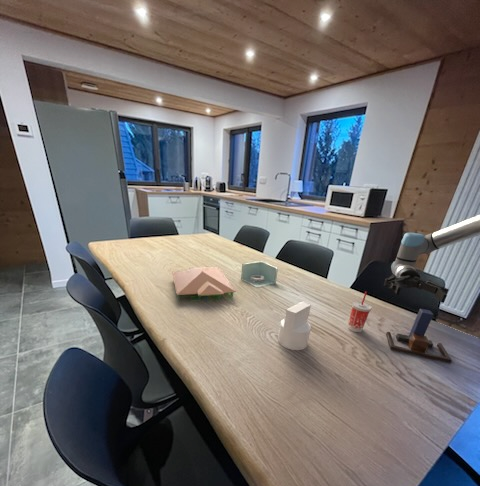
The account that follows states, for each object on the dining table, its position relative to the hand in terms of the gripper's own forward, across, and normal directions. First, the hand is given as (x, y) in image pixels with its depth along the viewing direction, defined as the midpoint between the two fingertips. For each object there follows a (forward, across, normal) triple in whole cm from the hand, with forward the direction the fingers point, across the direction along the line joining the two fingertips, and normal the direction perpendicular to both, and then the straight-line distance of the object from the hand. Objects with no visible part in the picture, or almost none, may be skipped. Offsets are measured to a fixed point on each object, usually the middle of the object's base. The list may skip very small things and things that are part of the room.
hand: (420, 294), depth 89 cm
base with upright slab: (+27, +37, -13) cm, 48 cm away
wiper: (+10, 0, -13) cm, 16 cm away
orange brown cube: (+13, 0, -13) cm, 19 cm away
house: (+2, +81, -13) cm, 82 cm away
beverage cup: (+9, +18, -13) cm, 24 cm away
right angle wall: (-19, +61, -13) cm, 65 cm away
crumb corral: (+12, 0, -13) cm, 18 cm away
